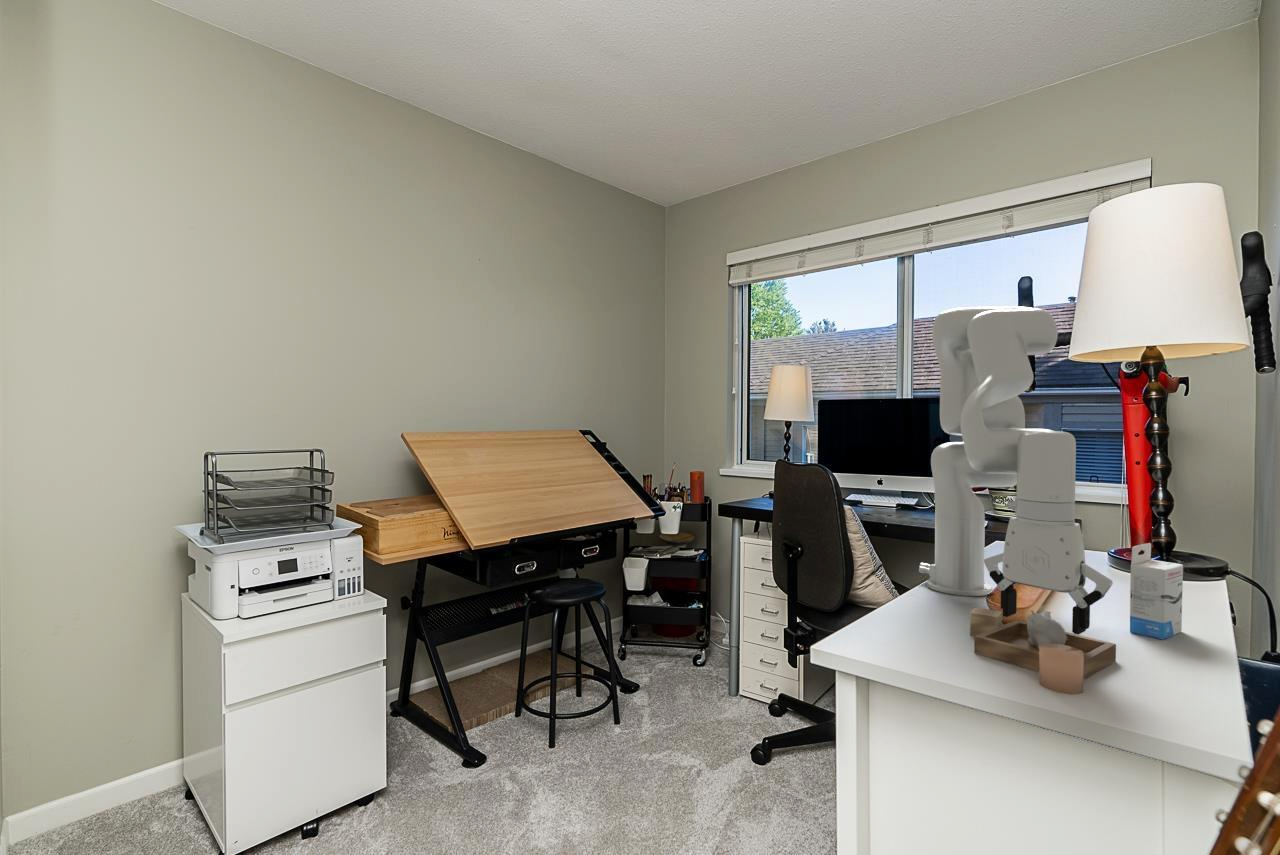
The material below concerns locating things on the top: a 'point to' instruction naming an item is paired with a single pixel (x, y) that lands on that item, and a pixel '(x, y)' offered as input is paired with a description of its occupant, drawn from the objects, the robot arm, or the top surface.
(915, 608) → the top surface
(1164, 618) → the ink box
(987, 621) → the oak block
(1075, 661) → the oval beige cylinder
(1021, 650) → the walnut tray
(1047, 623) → the figurine
